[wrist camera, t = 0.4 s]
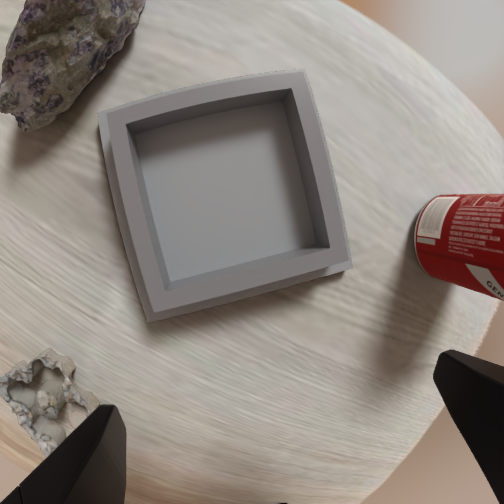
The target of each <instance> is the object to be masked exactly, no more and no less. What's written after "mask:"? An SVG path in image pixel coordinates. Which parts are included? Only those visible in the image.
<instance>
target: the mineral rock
mask: <svg viewBox="0 0 504 504" xmlns="http://www.w3.org/2000/svg"><path fill="white" fill-rule="evenodd" d="M145 3H146V0H26V2H25V4H24V10H23V11H22V13H21V14H20V16H19V19H18V22H17V24H16V26H15V28H14V30H13V32H12V34H11V36H10V38H9V41H8V44H7V46H6V57H5V59H4V61H3V64H2V81H1V83H0V112H1V113H5V114H7V113H11V115H14V116H15V118H16V120H17V122H18V126H19V127H20V128H22V130H23V132H33V131H37V130H39V129H41V128H43V127H45V126H47V125H48V124H50V123H51V122H52V121H54V120H55V119H56V117H57V114H59V113H62V112H64V111H67V110H68V109H69V108H70V106H71V105H72V104H73V103H74V101H75V100H76V98H77V97H78V96H79V94H80V93H81V91H82V90H83V89H84V87H85V86H86V85H87V84H89V83H90V82H91V80H92V79H93V78H94V76H95V75H97V74H99V73H100V72H101V71H102V70H103V69H104V68H105V65H106V62H107V60H108V59H109V58H111V56H112V55H113V54H114V53H116V52H118V51H120V50H121V49H122V47H123V45H124V41H125V39H126V38H127V37H128V35H129V34H130V33H131V32H133V31H134V30H135V29H136V28H137V26H138V24H139V21H138V18H139V17H138V15H139V14H140V12H141V11H142V9H143V7H144V5H145Z"/></svg>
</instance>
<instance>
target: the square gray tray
mask: <svg viewBox="0 0 504 504" xmlns="http://www.w3.org/2000/svg"><path fill="white" fill-rule="evenodd" d="M97 115H98V122H99V128H100V135H101V141H102V147H103V152H104V158H105V163H106V168H107V174H108V178H109V183H110V188H111V193H112V197H113V202H114V206H115V210H116V215H117V219H118V223H119V227H120V231H121V235H122V239H123V243H124V246H125V250H126V254H127V257H128V261H129V264H130V268H131V271H132V275H133V278H134V281H135V285H136V288H137V291H138V294H139V298H140V301H141V304H142V307H143V310H144V313H145V316H146V319H147V322H148V323H150V322H154V321H158V320H163V319H167V318H171V317H175V316H179V315H183V314H187V313H191V312H195V311H199V310H203V309H207V308H211V307H215V306H219V305H223V304H227V303H231V302H234V301H238V300H242V299H246V298H250V297H253V296H257V295H261V294H264V293H268V292H272V291H275V290H279V289H282V288H286V287H290V286H293V285H297V284H300V283H304V282H307V281H311V280H314V279H317V278H321V277H324V276H328V275H331V274H334V273H338V272H341V271H344V270H348V269H351V268H353V266H352V260H351V254H350V249H349V243H348V238H347V233H346V227H345V222H344V217H343V212H342V208H341V203H340V198H339V194H338V189H337V185H336V180H335V176H334V172H333V167H332V163H331V159H330V155H329V151H328V147H327V143H326V139H325V135H324V132H323V128H322V124H321V121H320V117H319V113H318V110H317V106H316V103H315V100H314V96H313V93H312V89H311V86H310V83H309V80H308V76H307V73H306V70H305V68H303V69H292V70H283V71H275V72H267V73H259V74H253V75H246V76H240V77H234V78H228V79H223V80H218V81H213V82H208V83H203V84H198V85H194V86H189V87H185V88H181V89H177V90H173V91H169V92H165V93H161V94H157V95H154V96H150V97H147V98H143V99H140V100H136V101H133V102H130V103H127V104H124V105H120V106H117V107H114V108H111V109H108V110H106V111H103V112H100V113H97Z"/></svg>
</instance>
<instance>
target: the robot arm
mask: <svg viewBox="0 0 504 504" xmlns="http://www.w3.org/2000/svg"><path fill="white" fill-rule="evenodd" d="M433 379H434V382H435V384H436V386H437V388H438V390H439V392H440V394H441V396H442V399H443V401H444V403H445V405H446V407H447V409H448V411H449V413H450V415H451V417H452V419H453V421H454V422H455V424H456V426H457V428H458V429H459V431H460V433H461V434H462V436H463V438H464V439H465V441H466V443H467V445H468V446H469V448H470V450H471V452H472V453H473V455H474V457H475V459H476V460H477V462H478V464H479V466H480V468H481V469H482V471H483V473H484V475H485V477H486V479H487V480H488V482H489V484H490V486H491V488H492V490H493V492H494V493H495V496H496V498H497V500H498V502H499V504H504V367H503V366H500V365H497V364H494V363H491V362H488V361H485V360H482V359H479V358H476V357H473V356H470V355H467V354H464V353H462V352H459V351H456V350H447V351H445V352H442V353H441V354H440V355H439V357H438V360H437V364H436V367H435V370H434V373H433ZM19 486H20V487H19ZM19 486H17V487H16V488H15V489H14V490H13V491H12V492H11V493H10V494H9V495H8V496H7V497H6V498H5V499H4V500H3V501H2V502H1V503H0V504H124V499H125V489H126V427H125V424H124V422H123V420H122V418H121V415H120V413H119V411H118V408H117V407H116V406H115V405H109V404H102V405H99V406H98V407H97V408H96V409H95V410H94V411H93V412H92V413H91V414H90V415H89V416H88V417H87V418H86V419H85V420H84V421H83V422H82V423H81V424H80V425H79V426H78V427H77V428H76V429H75V430H74V431H73V432H72V433H71V434H70V435H69V436H68V437H67V438H66V439H65V440H64V441H63V442H62V443H61V444H60V445H59V446H58V447H57V448H56V449H55V450H54V451H53V452H52V453H51V454H50V455H49V456H48V457H47V458H46V459H45V460H44V461H43V462H42V463H41V464H40V465H39V466H38V467H37V468H36V469H34V470H33V471H32V472H31V473H30V474H29V475H28V477H26V478H25V479H24V480H23V481H22V482H21V483H20V485H19ZM281 504H287V503H281Z"/></svg>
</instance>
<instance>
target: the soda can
mask: <svg viewBox="0 0 504 504" xmlns="http://www.w3.org/2000/svg"><path fill="white" fill-rule="evenodd" d="M414 246H415V252H416V256H417V259H418V261H419V264H420V265H421V267H422V268H423V270H424V271H425V272H426V273H427V274H429V275H430V276H432V277H434V278H437V279H440V280H443V281H446V282H449V283H452V284H455V285H458V286H462V287H465V288H468V289H471V290H474V291H477V292H480V293H482V294H485V295H488V296H491V297H494V298H497V299H500V300H503V301H504V194H454V195H439V196H436V197H434V198H432V199H431V200H429V201H428V202H427V203H426V204H425V206H424V207H423V209H422V210H421V212H420V214H419V216H418V219H417V222H416V226H415V232H414Z"/></svg>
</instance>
